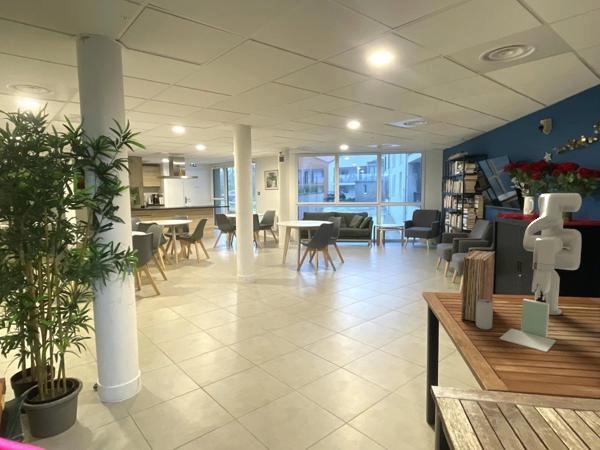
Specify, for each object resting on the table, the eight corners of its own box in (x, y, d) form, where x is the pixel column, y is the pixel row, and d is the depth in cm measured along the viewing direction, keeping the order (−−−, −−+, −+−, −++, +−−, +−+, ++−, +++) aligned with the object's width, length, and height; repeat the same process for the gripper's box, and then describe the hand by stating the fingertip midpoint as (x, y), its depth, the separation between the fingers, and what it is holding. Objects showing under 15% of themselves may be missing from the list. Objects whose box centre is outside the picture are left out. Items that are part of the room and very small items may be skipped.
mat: (511, 329, 150) (511, 328, 150) (555, 341, 138) (555, 340, 138) (499, 339, 140) (499, 338, 140) (546, 352, 128) (546, 351, 128)
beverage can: (494, 330, 148) (495, 303, 147) (477, 329, 150) (479, 303, 148) (489, 325, 154) (490, 299, 153) (473, 324, 156) (474, 298, 155)
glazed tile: (522, 330, 149) (524, 298, 148) (547, 336, 142) (549, 303, 141) (520, 331, 148) (522, 299, 146) (545, 338, 141) (548, 304, 139)
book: (482, 324, 155) (486, 259, 152) (460, 320, 161) (463, 257, 158) (492, 308, 175) (495, 250, 172) (472, 305, 181) (474, 249, 178)
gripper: (537, 262, 155) (535, 302, 157) (527, 268, 145) (525, 310, 147) (558, 265, 150) (555, 306, 152) (549, 271, 140) (546, 314, 142)
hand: (540, 308), depth 149 cm, fingers closed
